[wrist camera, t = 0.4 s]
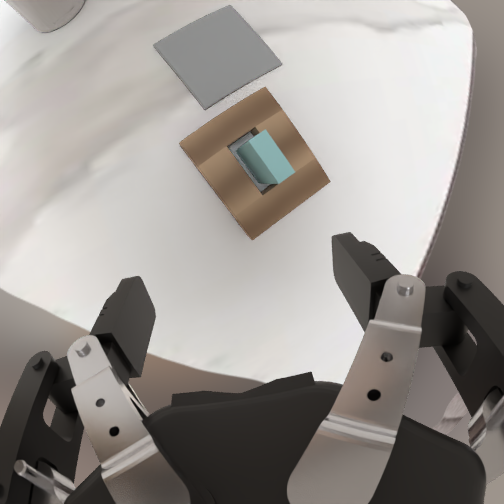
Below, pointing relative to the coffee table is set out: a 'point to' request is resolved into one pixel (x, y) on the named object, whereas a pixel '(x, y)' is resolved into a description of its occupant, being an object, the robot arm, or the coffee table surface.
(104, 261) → the coffee table surface
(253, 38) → the mat
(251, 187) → the holder
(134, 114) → the coffee table surface
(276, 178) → the teal rectangular block
